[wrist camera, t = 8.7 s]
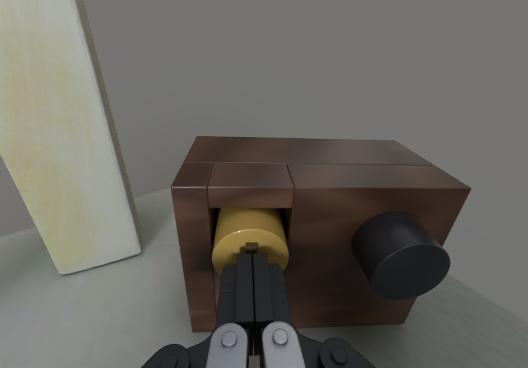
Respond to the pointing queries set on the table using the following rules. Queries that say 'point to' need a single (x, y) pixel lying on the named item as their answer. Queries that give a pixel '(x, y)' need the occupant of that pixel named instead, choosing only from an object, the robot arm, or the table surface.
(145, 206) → the table surface
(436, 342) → the table surface
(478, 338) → the table surface
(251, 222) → the brass knob
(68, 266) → the toy refrigerator
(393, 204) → the control box
